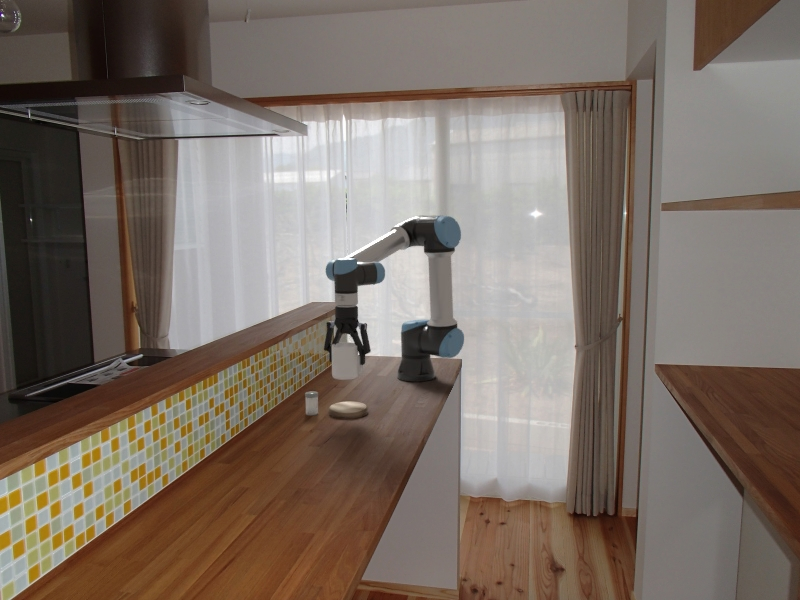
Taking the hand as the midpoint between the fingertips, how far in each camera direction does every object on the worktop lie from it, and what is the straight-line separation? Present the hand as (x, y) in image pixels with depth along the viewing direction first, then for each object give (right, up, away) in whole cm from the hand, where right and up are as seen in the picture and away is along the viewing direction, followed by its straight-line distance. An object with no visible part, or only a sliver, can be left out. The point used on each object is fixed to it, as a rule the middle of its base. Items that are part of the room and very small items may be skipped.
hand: (347, 372), depth 217 cm
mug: (0, -1, 0) cm, 1 cm away
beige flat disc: (0, -13, +2) cm, 14 cm away
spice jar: (-12, -14, +1) cm, 18 cm away
